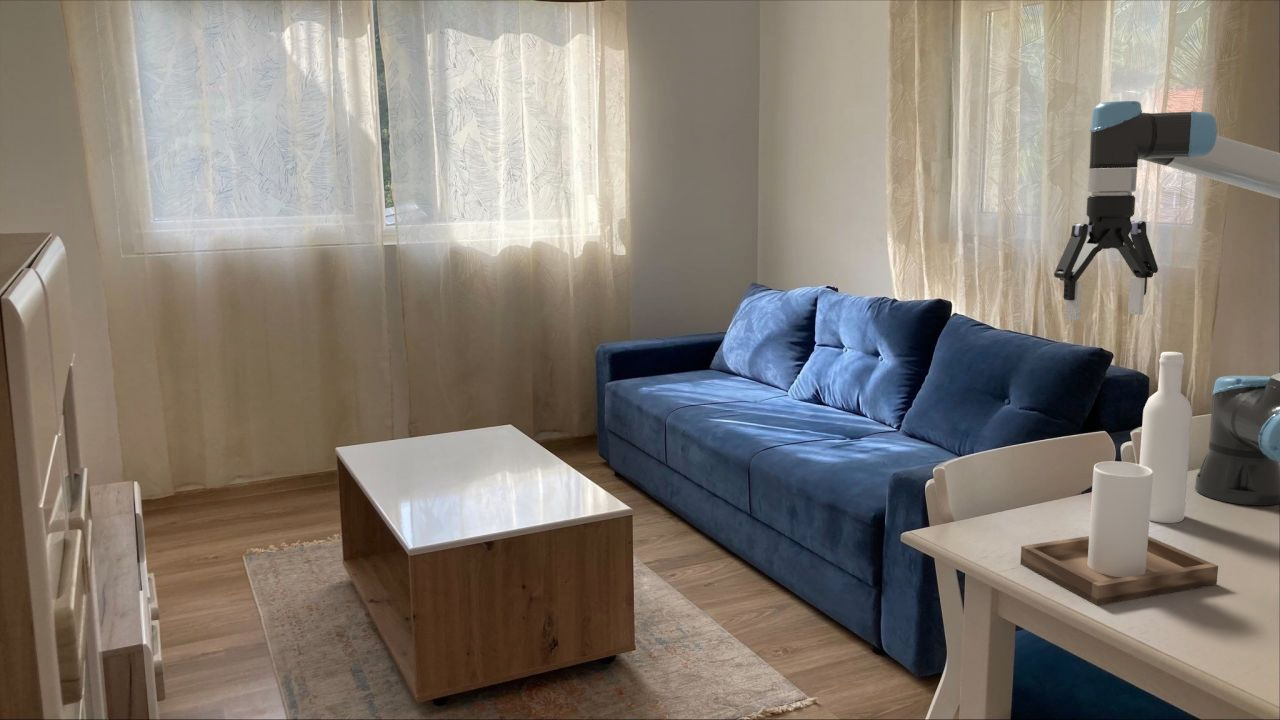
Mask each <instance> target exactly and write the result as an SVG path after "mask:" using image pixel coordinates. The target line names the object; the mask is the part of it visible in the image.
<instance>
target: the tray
mask: <svg viewBox="0 0 1280 720" xmlns="http://www.w3.org/2000/svg"><path fill="white" fill-rule="evenodd" d="M1020 547H1021V549H1020V565H1022V566H1024V567H1025V566H1026V567H1025V568H1028V569H1030V571H1033V572H1035V573H1036V574H1038V575H1040V576H1042V577H1044V578H1045V579H1047V580H1049V581H1052V582H1053V583H1055V584H1057V585H1059V586H1061V587H1062V588H1065V589H1066V590H1068V591H1069V592H1071V593H1074V595H1075V594H1076V595H1077V596H1079V597H1081V598H1082V599H1085V600H1087V601H1088V602H1091V604H1094V605H1096V606H1101V605H1108V604H1113V603H1119V602H1123V601H1129V600H1135V599H1141V598H1147V597H1154V596H1159V595H1160V596H1161V595H1166V594H1171V593H1178V592H1182V591H1189V590H1193V589H1199V588H1206V587H1211V586H1217V582H1218V576H1219V575H1218V573H1219V565H1217V564H1215V563H1213V562H1210V561H1207V560H1205V559H1203V558H1201V557H1198V556H1195V555H1194V554H1191V553H1188V552H1186V551H1184V550H1183V549H1180V548H1178V547H1175V546H1172V545H1170V544H1168V543H1165V542H1163V541H1160V540H1158V539H1156V538H1154V537H1152V536H1149V535H1148V546H1147V560H1146V572H1145V574H1142V575H1136V576H1130V577H1124V578H1121V577H1113V576H1108V575H1104V574H1101V573H1098V572H1096V571H1094V570H1092V569H1091V568H1089V566H1088V564H1087V563H1088V548H1089V535H1087V536H1080V537H1074V538H1066V539H1059V540H1053V541H1046V542H1039V543H1034V544H1033V543H1032V544H1026V545H1021V546H1020Z"/></svg>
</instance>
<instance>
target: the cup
mask: <svg viewBox="0 0 1280 720" xmlns="http://www.w3.org/2000/svg"><path fill="white" fill-rule="evenodd" d="M1139 464H1140V463H1134V462H1128V461H1127V462H1126V461H1116V460H1115V461H1114V460H1113V461H1112V460H1111V461H1101V462H1100V461H1099V462H1098V463H1095V464H1094V465H1093V474H1092V487H1091V488H1092V489H1091V501H1090V502H1091V503H1090V504H1091V505H1090V518H1089V531H1088V532H1089V533H1088V534H1089V535H1088V536H1089V548H1088V563H1087V564H1088V566H1089V568H1091V569H1092V570H1094V571H1096V572H1098V573H1101V574H1104V575H1108V576H1113V577H1121V578H1124V577H1130V576H1136V575H1142V574H1145V572H1146V560H1147V546H1148V536H1149V533H1150V521H1149V520H1150V507H1151V493H1152V480H1153V471H1152V470H1151V469H1150V468H1148V467H1146V466H1143V465H1139Z"/></svg>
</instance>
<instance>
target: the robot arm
mask: <svg viewBox="0 0 1280 720" xmlns="http://www.w3.org/2000/svg"><path fill="white" fill-rule="evenodd" d="M1217 125H1218V124H1217V121H1216V119H1215V117H1214V115H1213V114H1212V113H1210V112H1207V111H1194V110H1191V111H1179V112H1178V111H1177V112H1176V111H1175V112H1173V111H1172V112H1171V111H1170V112H1154V113H1150V112H1143V109H1142V105H1141V102H1140V101H1136V100H1133V101H1132V100H1124V101H1122V100H1121V101H1106V102H1105V101H1104V102H1100V103H1098V104H1096V105H1095V106H1094V108H1093V111H1092V116H1091V125H1090V126H1091V127H1090V130H1089V131H1090V132H1089V133H1090V142H1089V143H1090V144H1089V145H1090V147H1089V148H1090V150H1089V167H1088V168H1089V169H1088V185H1087V191H1088V192H1089V193H1091V195H1088V197H1087V198H1086V216H1087V217H1088V223H1087V224H1086V223H1079V222H1078V223H1076V222H1075V223H1073V224H1072V228H1071V233H1070V237H1069V239H1068V242H1067V244H1066V246H1065V247H1064V248H1065V249H1064V251H1063V253H1062V255H1061V257H1060V259H1059V261H1058V263H1057V266H1056V267H1055V270H1054V273H1053V276H1054V278H1057V279H1059V280H1060V281H1063V295H1062V296H1063V300H1064V301H1065V310H1064V311H1065V312H1064V318H1065V319H1068V320H1073V321H1074V320H1075V321H1080V318H1081V305H1082V304H1081V301H1082V299H1081V297H1082V286H1083V284H1082V283H1083V282H1081V281H1079V279H1080V277H1081V276H1082V275H1083V273H1084V272H1085V271H1086V269H1087V268H1088V266H1089V265H1090V264H1091V262H1092V261H1093V259H1094V258H1095V257H1096V255H1097V253H1099V252H1101V251H1102V250H1107V249H1116V250H1118V252H1119V254H1120V255H1121V256H1122V258H1123V259H1124V261H1125V262H1126V265H1127V266H1128V268H1129V269H1130V271H1131V272H1132V274H1133V275H1134V276H1129V285H1128V286H1129V287H1128V301H1127V302H1128V303H1127V314H1131V315H1136V316H1142V315H1143V313H1144V301H1145V299H1144V298H1145V296H1146V295H1147V289H1148V287H1147V286H1148V278H1149V279H1151V278H1152V277H1153V276H1154V274H1156V273H1158V271H1159V266H1158V265H1157V261H1156V258H1155V255H1154V252H1153V248H1152V247H1151V243H1150V240H1149V236H1148V235H1147V222H1146V221H1143V220H1142V221H1141V220H1131V218H1132V217H1134V215H1135V209H1136V207H1135V206H1136V196H1135V195H1133V193H1134V192H1136V190H1137V174H1138V167H1139V166H1138V165H1139V164H1138V162H1139V160H1143V161H1147V162H1149V163H1154V164H1156V165H1157V164H1158V165H1162V166H1165V167H1168V168H1172V169H1176V170H1180V171H1183V172H1186V173H1190V174H1194V175H1197V176H1200V177H1205V178H1207V179H1211V180H1214V181H1217V182H1221V183H1225V184H1228V185H1232V186H1235V187H1238V188H1242V189H1246V190H1247V191H1248V190H1249V191H1253V192H1256V193H1259V194H1263V195H1267V196H1269V197H1273V198H1276V199H1280V152H1278V151H1273V150H1270V149H1267V148H1263V147H1259V146H1256V145H1253V144H1250V143H1245V142H1242V141H1238V140H1234V139H1232V138H1228V137H1224V136H1220V135H1218V126H1217ZM1087 236H1088V237H1087ZM1211 396H1212V402H1211V414H1210V415H1211V416H1210V426H1209V427H1210V429H1209V441H1208V442H1209V443H1208V451H1207V453H1206V455H1205V457H1204V459H1203V462H1202V464H1201V466H1200V469H1199V472H1198V473H1197V474H1196V476H1195V483H1194V488H1195V491H1197V493H1199V494H1201V495H1203V496H1205V497H1207V498H1211V499H1214V500H1217V501H1221V502H1224V503H1225V502H1226V503H1231V504H1232V503H1233V504H1236V505H1246V506H1247V505H1249V506H1273V505H1278V504H1280V372H1278V373H1275V374H1273V375H1271V376H1265V375H1264V376H1263V375H1225V376H1220V377H1218V378H1217V379H1216V380H1215V381H1214V387H1213V391H1212V394H1211Z"/></svg>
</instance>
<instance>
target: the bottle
mask: <svg viewBox="0 0 1280 720" xmlns="http://www.w3.org/2000/svg"><path fill="white" fill-rule="evenodd" d="M1184 356H1185V355H1184V354H1183V352H1177V351H1162V352H1161V353H1160V358H1159V360H1158V361H1159V372H1158V373H1159V374H1158V385H1157V391H1156V392H1155V393H1153V394H1152V395H1150V396H1149V397H1148V399H1147V401H1146V403H1145V406H1144V407H1143V411H1142V425H1141V426H1142V427H1141V437H1140V453H1139V463H1138V464H1139V465H1143V466H1146V467H1148V468H1150V469H1151V470H1152V471H1153V480H1152V493H1151V507H1150V520H1149V522H1155V523H1161V524H1175V523H1180V522H1182V521H1183V520H1185V519H1184V518H1185V512H1186V503H1187V502H1186V496H1187V486H1188V485H1187V484H1188V472H1189V471H1188V470H1189V460H1190V458H1189V457H1190V447H1191V436H1192V434H1191V433H1192V424H1193V423H1192V422H1193V410H1192V406H1191V403H1190V401H1189V400H1188V398H1187V397H1186V396H1185V395H1184V394H1183V393H1182V379H1183V367H1184V364H1185V360H1184V358H1185V357H1184Z"/></svg>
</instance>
